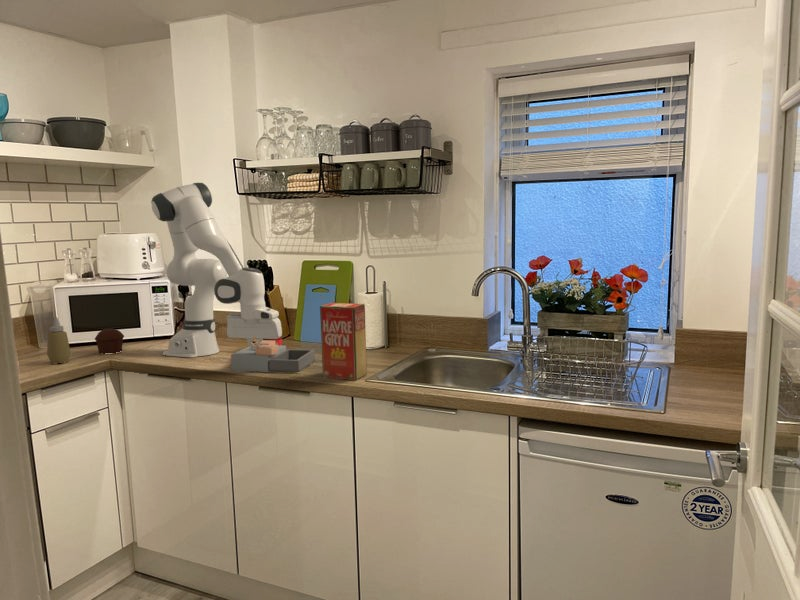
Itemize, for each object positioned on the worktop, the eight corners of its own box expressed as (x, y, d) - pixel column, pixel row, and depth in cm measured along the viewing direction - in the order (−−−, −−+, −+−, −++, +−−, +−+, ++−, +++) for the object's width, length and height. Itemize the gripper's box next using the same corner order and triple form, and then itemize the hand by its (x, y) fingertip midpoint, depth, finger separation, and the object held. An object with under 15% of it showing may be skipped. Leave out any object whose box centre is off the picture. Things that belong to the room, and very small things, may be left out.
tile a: (256, 354, 221) (255, 347, 221) (262, 351, 227) (262, 344, 227) (271, 355, 220) (271, 348, 220) (278, 351, 226) (277, 345, 225)
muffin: (92, 352, 260) (90, 329, 259) (119, 348, 268) (117, 325, 266) (101, 356, 252) (99, 332, 250) (129, 352, 259) (127, 329, 258)
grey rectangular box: (231, 371, 223) (230, 354, 222) (252, 359, 240) (251, 344, 240) (268, 372, 220) (267, 355, 219) (286, 360, 238) (285, 345, 237)
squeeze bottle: (45, 363, 241) (40, 317, 239) (67, 359, 247) (63, 315, 245) (52, 366, 236) (47, 319, 234) (74, 362, 242) (70, 317, 239)
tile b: (254, 349, 230) (253, 343, 229) (260, 346, 236) (260, 340, 235) (269, 350, 229) (269, 343, 228) (275, 346, 235) (275, 340, 234)
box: (269, 372, 220) (268, 359, 219) (287, 360, 238) (287, 349, 237) (298, 373, 218) (298, 360, 217) (315, 361, 236) (314, 350, 235)
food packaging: (321, 377, 211) (318, 305, 208) (334, 371, 220) (331, 302, 216) (356, 380, 206) (354, 307, 203) (368, 374, 215) (366, 303, 211)
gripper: (222, 313, 221) (224, 351, 223) (276, 314, 217) (277, 352, 219) (230, 311, 227) (232, 348, 229) (282, 311, 223) (284, 349, 225)
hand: (255, 350), depth 224 cm, fingers closed
